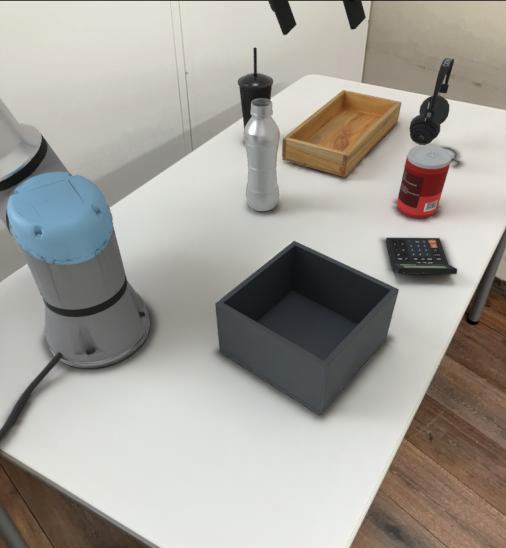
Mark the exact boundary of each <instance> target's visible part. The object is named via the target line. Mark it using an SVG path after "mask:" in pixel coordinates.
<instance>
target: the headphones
mask: <svg viewBox="0 0 506 548" xmlns="http://www.w3.org/2000/svg"><path fill="white" fill-rule="evenodd" d="M454 63H455V59H454V58H449V57H445V58H444V59H443V60H442V62H441V65H440V66H439V69H438V73H437V77H436V81H435V85H434V89H433V90H434V91H433V93H432V95H431V96H428V97H426V98H425V99H424V100H423V101H422V103H421V105H420V107H419V112H418V113H419V114H418V115H416V116H415V117H413V118H412V119H411V121H410V124H409V129H408V130H409V138H410V139H411V140H412V142H413V143H414V144H417V145H430V143H432V141H434V140H435V139H436V138H438V136H439V134H440V132H441V125H442V124H443V123H445V122H446V120H447V119H448V117H449V114H450V103H449V101H448V99H446V98H445V97H443V96H442V95H441V94H448V90H449V86H450V84H449V81H450V78H451V74H452V70H453V66H454ZM447 150H450V151H453V153H455V154H457V152H456V151H455V150H454V149H451V148H450V147H447ZM456 157H457V155H455V156H454V157H453V158H452V159H451V162H452V161H454V162H457V164H456V165H455V167H457V166H458V165H459V163H460V161H459V160H456Z"/></svg>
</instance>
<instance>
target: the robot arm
mask: <svg viewBox="0 0 506 548" xmlns="http://www.w3.org/2000/svg"><path fill="white" fill-rule="evenodd" d="M267 2H268V4H269V7H270V10H271V11H272V12H273V13H274V15H275V18H276V20H277V23H278V25H279V27H280V31H281V33H282V35H283V36H287V35H288V34H290V32H291V31H292V30H293V29H294V28H295V27H296V26H297V21H296V18H295V16H294V13H293V11H292V8H291V5H290V2H289V0H267ZM342 4H343V7H344V10H345V11H344V12H345V15H346V18H347V21H348V25H349V29H350V30H352V31H353V30H356V29H357V28H358V27H359V26H360V25H361V24H362V22H363V21H364V20H365V19H366V18H367V16H366V13H365V10H364V9H365V8H364V6H363V2H362V0H342ZM0 220H1V221H2V222H3V224H4V226H5V227H6V229H7V231H8V233H9V235H10V236H11V238H12V239H13V241H14V243H15V245H16V246H17V248H18V250H19V251H20V253H21V255H22V256H23V258H24V261H25V262H26V264H27V266H28V269H29V270H30V273H31V275H32V278H33V279H34V282H35V285H36V287H37V289H38V291H39V295H40V296H41V298H42V300H43V303H44V335H45V341H46V343H47V346H48V348H49V350H50V352H51V353H52V355H53V357H52V359H51V360H49V362H48V363H47V365H46V366H44V368H43V369H42V370H41V371H40V372H39V373H38V375H36V377H34V379H33V380H32V381H31V382H30V383H29V385H28V386H27V387H26V388H25V390H24V391H23V392H22V394H21V396H20V397H19V398H18V400H17V402H16V403H15V405H14V407H13V408H12V410H11V411H10V414H9V416H8V417H7V418H6V420H5V422H4V424H3V425H2V427H1V428H0V442H1V441H2V440H3V438H4V437H5V436H6V435H7V433H8V432H9V430H10V429H11V427H12V426H13V425H14V423H15V421H16V419H17V417H18V416H19V413H20V411H21V410H22V408H23V407H24V405H25V403H26V401H27V400H28V399H29V397H30V395H31V394H32V393H33V392H34V390H35V389H36V388H37V387H38V386H39V385H40V384H41V382H42V381H43V380H44V379H45V378H46V377H47V375H49V373H50V372H51V371H52V370H53V368H54V367H55V366H56V365H57V364H58V363H59V361H60V362H61V363H62V364H65V365H68V366H70V367H73V368H74V367H75V368H79V369H96V368H97V369H98V368H103V367H108V366H111V365H113V364H116V363H119V362H121V361H123V360H125V359H127V358H128V357H131V355H133V354H134V353H135V352H137V351H138V350H139V349H140V348H141V347H142V345H144V343H145V341H146V339H147V338H148V336H149V333H150V329H151V320H150V314H149V311H148V309H147V308H148V307H147V306H146V305H145V304H146V303H145V301H144V299H143V298H142V297H141V296H140V294H139V293H138V292H137V291H136V290H135V289H134V288H133V286H132V285H131V283H130V282H129V281H128V278H127V275H126V270H125V266H124V262H123V258H122V254H121V251H120V248H119V243H118V237H117V235H116V231H115V227H114V222H113V221H114V218H113V214H112V210H111V208H110V205H109V203H108V201H107V200H106V196H105V194H104V192H103V191H102V190H101V188H100V187H99V186H98V185H97V184H96V183H95V182H93V181H92V180H90V179H89V178H88V177H85V176H83V175H81V174H75V175H73V174H72V173H70V171H69V170H68V168H67V167H66V166H65V164H64V163H63V162H62V160H61V159H60V157H59V156H58V155H57V153H56V152H55V151H54V149H53V148H52V146H51V145H50V143H49V142H48V141H47V139H46V138H45V137H44V136H43V134H42V133H41V131H40V130H39V129H38V128H37V127H36V126H34V125H32V124H27V123H22V122H19V121H18V120H17V118H16V117H15V115H14V114H13V113H12V111H11V110H10V109H9V107H8V106H7V105H6V103H5V102H4V100H2V98H1V97H0Z"/></svg>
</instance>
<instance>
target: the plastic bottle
mask: <svg viewBox="0 0 506 548" xmlns="http://www.w3.org/2000/svg"><path fill="white" fill-rule="evenodd" d="M251 115H252V117H251V118H250V120H249V121H248V123H247V124H246V126H245V129H244V128H243V140H244V145H245V146H244V147H245V151H246V159H247V179H246V180H247V181H246V187H245V199H246V202H247V203H246V204H248V206H249V207H250V208H251V209H253V210H255V211H258V212H268V211H272V210H273V209H274V208H276V207H277V205H278V203H279V201H280V188H279V184H278V175H277V174H278V173H277V161H278V151H279V144H280V137H281V132H280V129H279V126H278V124H277V122H276V121H275V119H274V118H273V117H272V116H273V115H274V110H273V101H272V100H271V99H270V100H269V99H264V98H260V99H255V100H253V101H252V102H251Z"/></svg>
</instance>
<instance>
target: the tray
mask: <svg viewBox="0 0 506 548" xmlns="http://www.w3.org/2000/svg"><path fill="white" fill-rule="evenodd" d="M401 106H402V101H398V100H393V99H390V98H384V97H380V96H375V95H369V94H365V93H360V92H356V91H351V90H345V89H342V90H340V91H339V92H338V93H337V94H336V95H335V96H333V97H332V98H331V99H330V100H329V101H327V102H326V103H325V104H324V105H322V106H321V107H319V109H317V110H316V111H315V112H313V114H311V115H310V116H309V117H307V118H306V119H304V120H303V121H302V122H301V123H300V124H298V125H297V126H296V127H295V128H294V129H292V130H291V131H290V132H289V133H287V134H286V135H285V136H284V137H283V138H282V147H281V150H282V151H281V157H282V161H284V162H288V163H291V164H295V165H299V166H303V167H307V168H310V169H313V170H317V171H321V172H325V173H329V174H331V175H336V176H339V177H343V178H346V177H347V176H348V175H349V174H350V173H351V171H353V169H354V168H355V167H356V166H357V165H358V164H359V163H360V162H361V161H362V160H363V158H365V157H366V156H367V154H368V153H370V152H371V150H372V149H373V148H374V147H375V146H377V144H378V143H380V141H381V140H382V139H383V138H384V137H385V136H386V135H387V134H388V133H389V132H390V131H391V130H392V129H393V127H394V126H395V125H397V124H398V121H399V118H400V113H401Z"/></svg>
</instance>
